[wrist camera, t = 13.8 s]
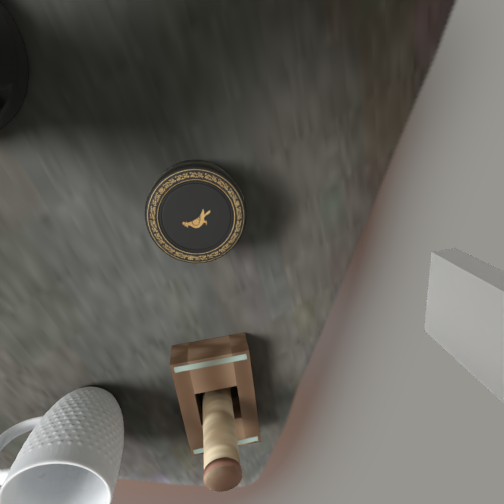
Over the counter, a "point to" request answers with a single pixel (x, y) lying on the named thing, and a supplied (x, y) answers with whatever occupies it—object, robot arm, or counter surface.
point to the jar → (195, 212)
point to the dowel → (220, 441)
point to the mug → (67, 452)
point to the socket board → (215, 385)
